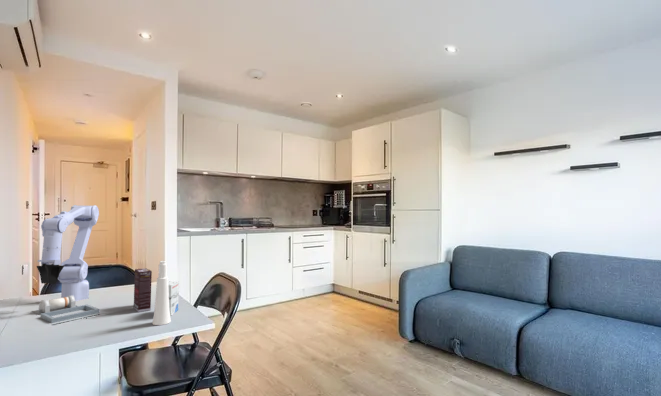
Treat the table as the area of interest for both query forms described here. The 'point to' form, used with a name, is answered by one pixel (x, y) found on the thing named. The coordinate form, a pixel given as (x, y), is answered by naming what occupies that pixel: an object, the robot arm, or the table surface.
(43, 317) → the tray
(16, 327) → the table surface
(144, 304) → the supplement box
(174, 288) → the ink box
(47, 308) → the fuse holder
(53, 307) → the fuse
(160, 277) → the cosmetic bottle
